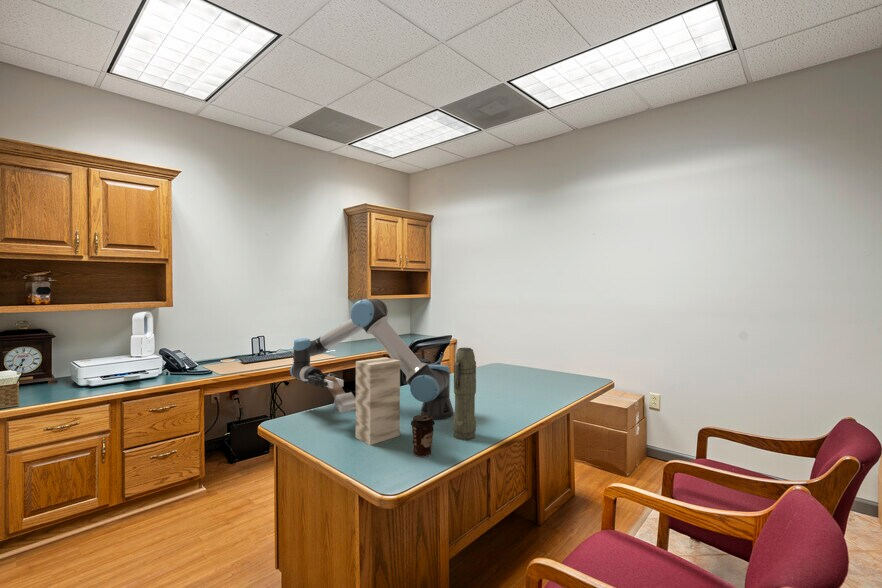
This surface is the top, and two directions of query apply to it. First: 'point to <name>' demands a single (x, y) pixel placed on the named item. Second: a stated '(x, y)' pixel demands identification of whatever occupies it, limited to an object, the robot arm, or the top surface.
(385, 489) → the top surface
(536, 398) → the top surface
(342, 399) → the hammer
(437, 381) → the robot arm
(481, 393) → the top surface
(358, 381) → the pedestal
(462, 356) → the thermos
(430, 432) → the coffee cup
